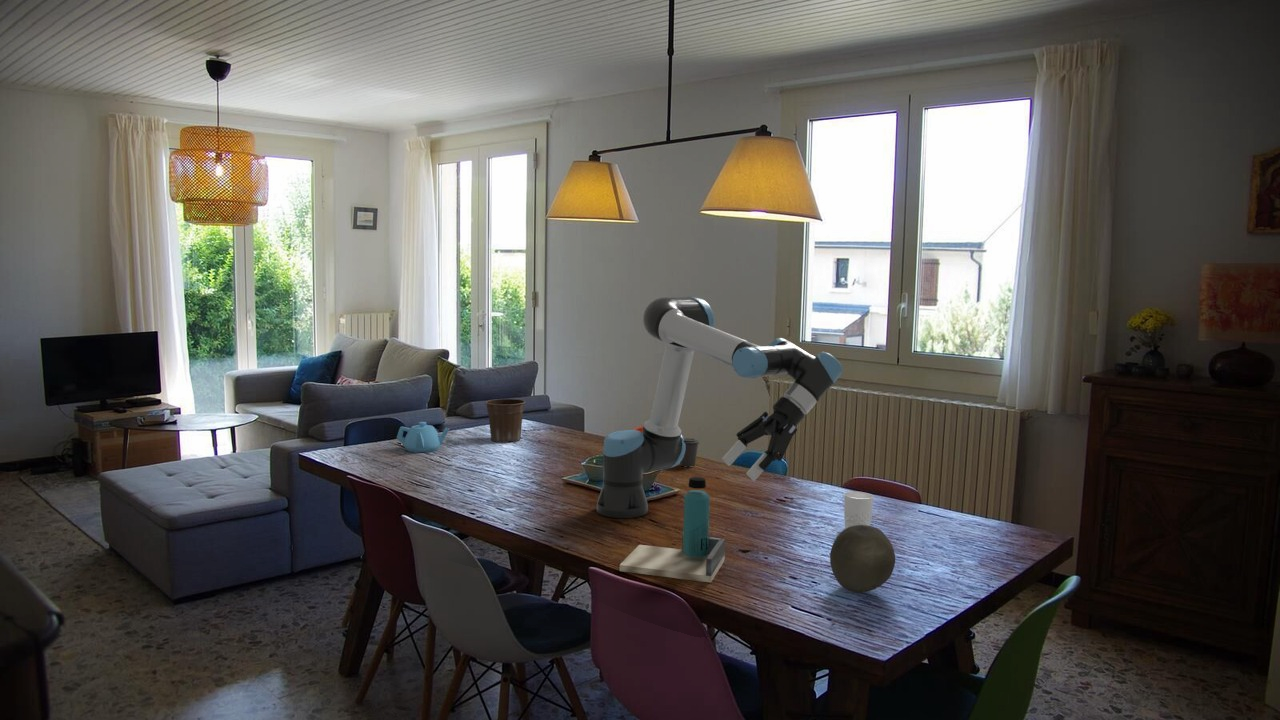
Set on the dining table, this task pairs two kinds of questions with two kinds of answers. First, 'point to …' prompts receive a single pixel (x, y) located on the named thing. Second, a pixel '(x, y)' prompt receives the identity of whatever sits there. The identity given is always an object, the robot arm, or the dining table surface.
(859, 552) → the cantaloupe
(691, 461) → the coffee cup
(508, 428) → the plant pot
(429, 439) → the teapot
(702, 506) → the beverage bottle
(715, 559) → the corner board
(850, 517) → the white cup
